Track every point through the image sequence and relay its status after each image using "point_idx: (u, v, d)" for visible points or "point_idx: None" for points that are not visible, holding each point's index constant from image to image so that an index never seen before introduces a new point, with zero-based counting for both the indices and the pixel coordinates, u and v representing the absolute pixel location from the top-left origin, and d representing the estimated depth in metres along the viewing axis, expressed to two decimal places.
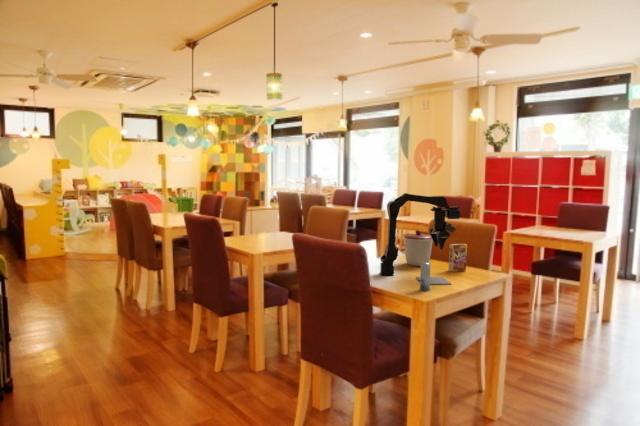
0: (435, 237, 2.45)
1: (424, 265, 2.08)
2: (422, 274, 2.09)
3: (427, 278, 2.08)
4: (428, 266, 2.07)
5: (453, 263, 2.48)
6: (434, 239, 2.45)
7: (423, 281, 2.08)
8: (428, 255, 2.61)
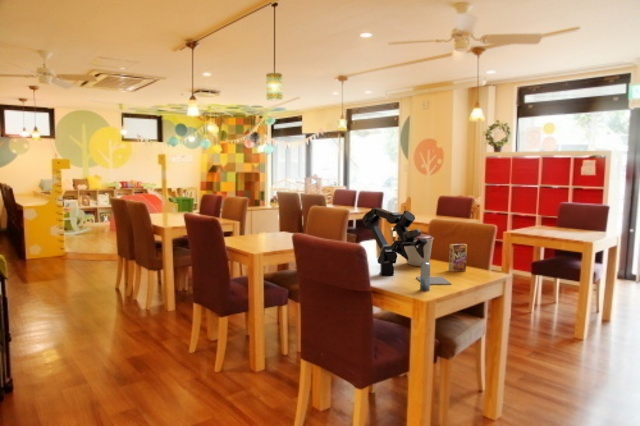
0: (419, 250, 2.22)
1: (424, 265, 2.08)
2: (422, 274, 2.09)
3: (427, 278, 2.08)
4: (428, 266, 2.07)
5: (453, 263, 2.48)
6: (419, 252, 2.22)
7: (423, 281, 2.08)
8: (428, 255, 2.61)
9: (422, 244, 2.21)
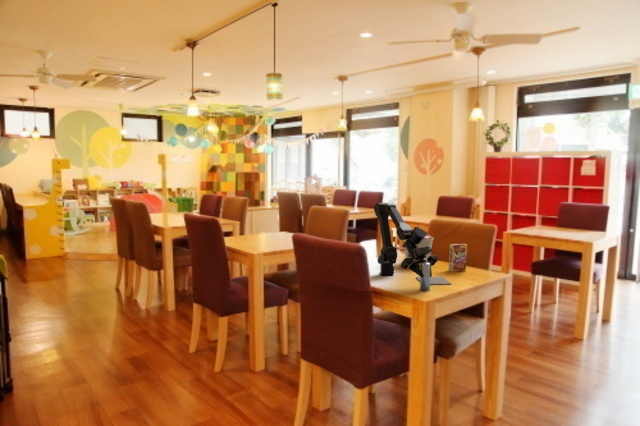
0: None
1: (424, 265, 2.08)
2: None
3: (427, 278, 2.08)
4: (428, 266, 2.07)
5: (453, 263, 2.48)
6: None
7: (423, 281, 2.08)
8: (428, 255, 2.61)
9: (430, 262, 2.12)
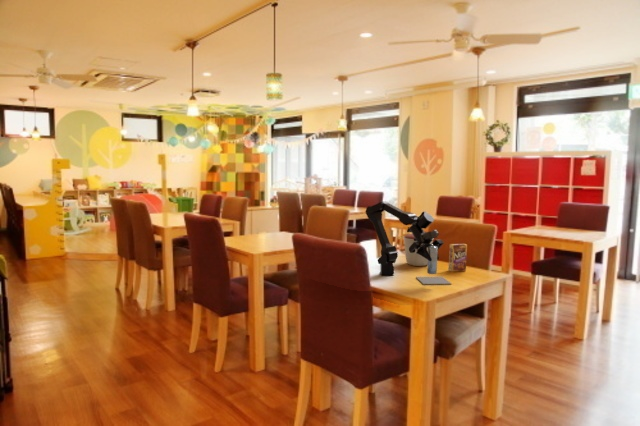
0: None
1: (432, 249, 2.12)
2: None
3: (435, 261, 2.13)
4: (435, 249, 2.12)
5: (453, 263, 2.48)
6: None
7: (431, 265, 2.13)
8: None
9: None
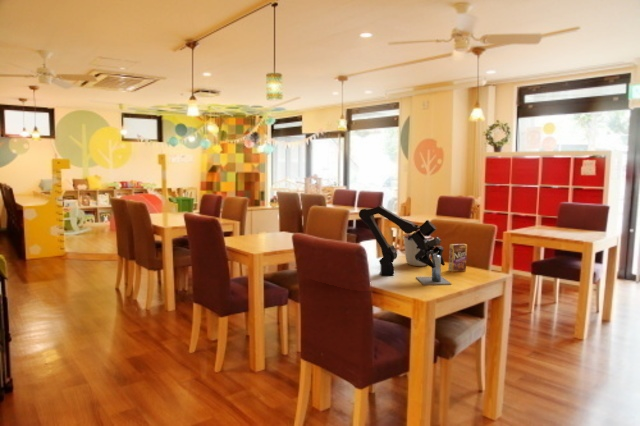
0: None
1: (436, 257, 2.22)
2: (435, 266, 2.23)
3: (439, 269, 2.23)
4: (439, 258, 2.22)
5: (453, 263, 2.48)
6: None
7: (436, 273, 2.23)
8: None
9: (441, 252, 2.29)
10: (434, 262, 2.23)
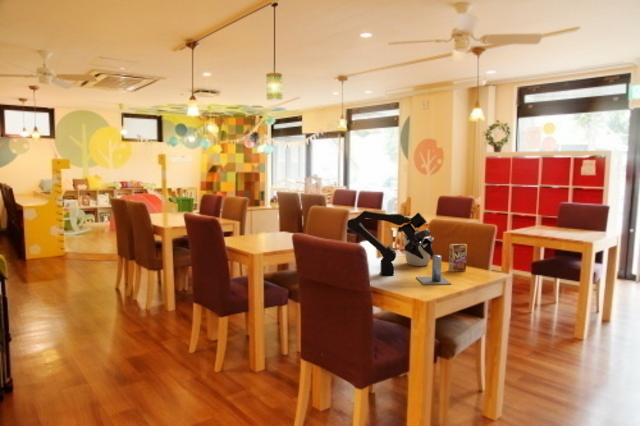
0: (427, 249, 2.33)
1: (437, 258, 2.22)
2: (435, 266, 2.23)
3: (440, 270, 2.23)
4: (440, 258, 2.22)
5: (453, 263, 2.48)
6: (427, 251, 2.33)
7: (436, 273, 2.23)
8: (428, 255, 2.61)
9: (430, 243, 2.33)
10: (435, 262, 2.22)
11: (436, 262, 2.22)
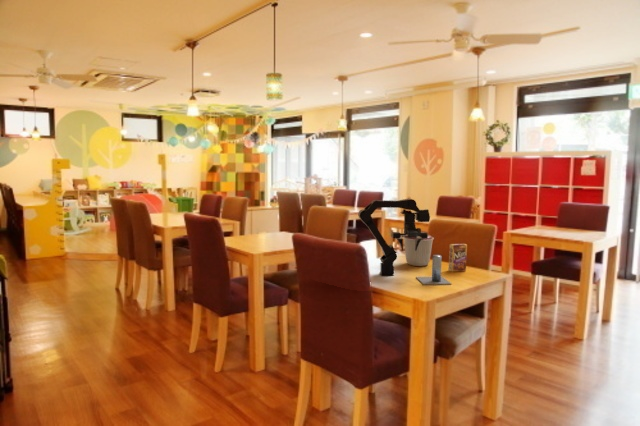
0: (416, 241, 2.40)
1: (437, 258, 2.22)
2: (435, 266, 2.23)
3: (440, 270, 2.23)
4: (440, 258, 2.22)
5: (453, 263, 2.48)
6: (415, 243, 2.41)
7: (436, 273, 2.23)
8: (428, 255, 2.61)
9: (419, 239, 2.37)
10: (435, 262, 2.22)
11: (436, 262, 2.22)
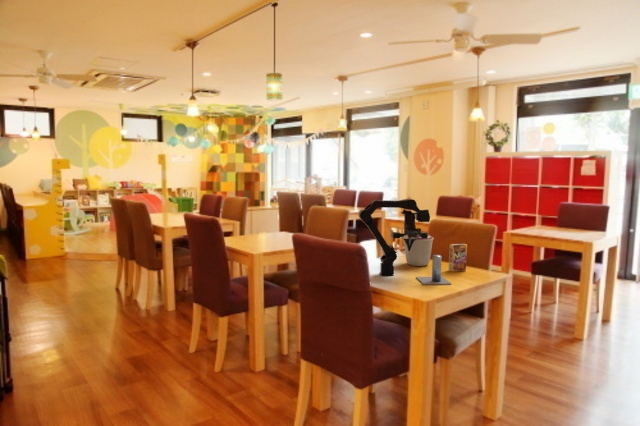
0: (409, 241, 2.40)
1: (437, 258, 2.22)
2: (435, 266, 2.23)
3: (440, 270, 2.23)
4: (440, 258, 2.22)
5: (453, 263, 2.48)
6: (409, 243, 2.41)
7: (436, 273, 2.23)
8: (428, 255, 2.61)
9: (413, 240, 2.37)
10: (435, 262, 2.22)
11: (436, 262, 2.22)
